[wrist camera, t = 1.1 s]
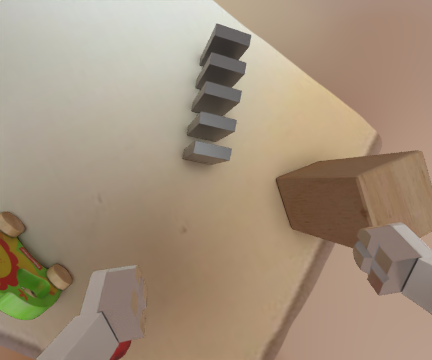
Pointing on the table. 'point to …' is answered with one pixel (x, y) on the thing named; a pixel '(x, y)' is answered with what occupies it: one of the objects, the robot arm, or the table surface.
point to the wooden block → (359, 195)
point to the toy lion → (25, 275)
